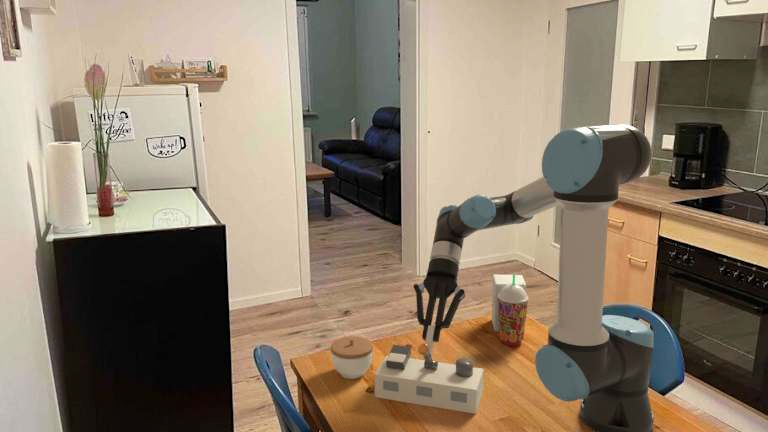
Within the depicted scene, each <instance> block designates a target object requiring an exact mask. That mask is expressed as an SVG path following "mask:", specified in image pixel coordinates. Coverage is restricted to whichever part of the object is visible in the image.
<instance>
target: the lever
mask: <svg viewBox="0 0 768 432" xmlns="http://www.w3.org/2000/svg"><path fill="white" fill-rule="evenodd" d="M429 350H430V349H429V346H428V345H427V344H425V343H421V344H420V345H418V348H417V352H418V353H419V355H421V356H422V357H423V360H425V362H424V367H425V368H431V369H437V368H438V362H439V361H436V360H433V358H432V356H430V354H429Z"/></svg>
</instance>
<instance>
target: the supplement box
mask: <svg viewBox="0 0 768 432" xmlns="http://www.w3.org/2000/svg"><path fill="white" fill-rule="evenodd" d="M492 275H493V276H492V277H493V278H492V300H491V302H492V304H491V306H492V307H491V322H492V326H493V332H499V316H498V294H499V293H500V291H501V289H502V288H503V287H504V286H506V285H508V284H512V281H513V275H515V284H517V285H520V286H521V287H522V288H523V289H524V290H525V292H526V293H527V283H526V281H525V279H524V276H523V275H522V274H497V273H496V274H492Z"/></svg>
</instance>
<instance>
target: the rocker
mask: <svg viewBox="0 0 768 432" xmlns="http://www.w3.org/2000/svg"><path fill="white" fill-rule="evenodd" d="M411 354H412V346H405V345H401V344H400V345H399V344H393V345H392V348H391V350H390V351H389V354H388V355H389V356H388V358H387V360H386V367H389V368H395V369H402V370H404V369H405V367H406V364H407V362H408V360H409V358H410V357H411Z"/></svg>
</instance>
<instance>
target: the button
mask: <svg viewBox="0 0 768 432" xmlns="http://www.w3.org/2000/svg"><path fill="white" fill-rule="evenodd" d="M455 365H456V375H458V376H460V377H470V376H472V375H473V367H474V361H473V360H472V359H470V358H464V357H461V358H458V359H456V361H455Z"/></svg>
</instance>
